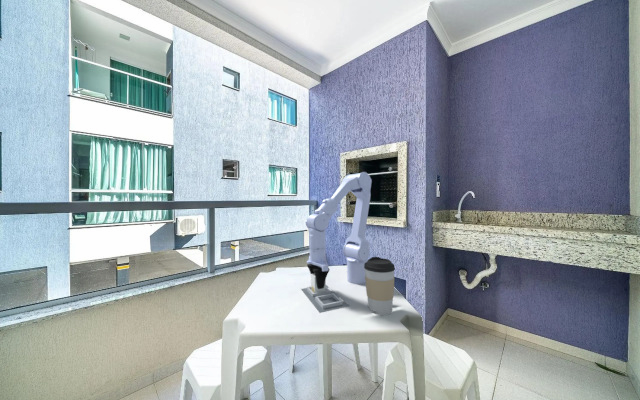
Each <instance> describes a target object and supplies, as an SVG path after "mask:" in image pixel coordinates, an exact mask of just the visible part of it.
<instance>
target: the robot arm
mask: <svg viewBox="0 0 640 400" xmlns="http://www.w3.org/2000/svg"><path fill="white" fill-rule="evenodd" d="M372 180H373V179H372V178H371V176H370V175H369V173H367V171H362V172H360V173H359V172H358V173H352V174H347V175H345V177H344V178H343V179H342V182H341V183H340V185H339V186H338V188H337V189H336V190H335V191H334V193H333V195H332V196H331V197H330V198H325V199H323V200H322V202H321V205H320V206H319V207H318V208H317V209H315V210H314V213H312V214H310V215H309V216H308V217H307V219H306V221H305V227H306V228H307V229H308V239H309V240H308V243H309V247H308V249H309V256H308V260H306V264H307V265H306V266H307V268H308V270H309V273H310V275H311V274H313V273H314V274H315V277H316V284H317V288H318V289H322V288H324V284H325V280H326V279H327V276H328V275H329V272H330V268H329V264H328V262H327V258H326V255H327V254H326V252H327V250H326V229H327V228H328V227H329V224H330V220H331V218H332V217H333V216H334V215H335V213H336V212H337V211H338V209H339V203H341V201H342V200H343V199H344V198H345V197H346V196H347V195H348V194H349V193H350V192H351V193H352V194H353V195H354V196H355V198H356V199H355V200H356V202H355V208H354V214H353V219H352V220H353V221H352V226H351V234H350V235H349V236H348V237H347V238H346V239H345V244H344V245H343V247H342V254H343V256H345V260H346V266H347V267H346V269H347V271H346V273H347V274H346V275H347V276H346V277H347V282H348V283H350V284H351V285H352V284H353V285H354V284H355V285H362V284H366V281H365V268H364V264H365V263H366V262H367V261H368V260H369V256H370V248H369V246H370V243H369V241H368V239H366V238H365V237H366V229H367V223H368V215H369V209H370V202H371V195H372V194H371V188H372V182H373V181H372Z"/></svg>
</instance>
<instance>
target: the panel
mask: <svg viewBox="0 0 640 400" xmlns="http://www.w3.org/2000/svg"><path fill="white" fill-rule="evenodd" d="M300 290H301V291H302V293H303V294H304V295H305V296H306V297H307V299H308V300H309V302H311V304H312V305H313V306H314V307H315V308H316V310H317V311H318V313H319V314H321V313H325V312H326V313H327V312H329V311H333V310H334V311H335V310H339V309H344V308H347V307H351V305H350V304H349V303H348V302H346V301H345V300H344V299H343V298H342V297H340V296H339V295H338V293H336V292H335V291H334V290H333V289H331V288H330V287H329V286H328V285H327V284H326V291H322V292H317V293H313V292H312V291H311V285H310V286H307V287H304V288H300Z"/></svg>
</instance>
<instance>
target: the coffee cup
mask: <svg viewBox="0 0 640 400" xmlns="http://www.w3.org/2000/svg"><path fill="white" fill-rule="evenodd" d="M364 268H365V281H366V283H365V289H366V290H365V291H366V296H367V307H368V308H369V310H371V311H373V312H372V314H375V315H378V316H387V315H390V314H391V313H392V312H393V300H394V295H395V294H394V293H395V292H394V291H395V290H394V289H395V270H396V267H395V264H394V263H393V262H392V261H391V260H390V259H387V258H381V257H379V256H372V257H371V258H368V261H367V262H366V263H365V264H364Z"/></svg>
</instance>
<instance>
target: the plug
mask: <svg viewBox="0 0 640 400" xmlns="http://www.w3.org/2000/svg"><path fill="white" fill-rule="evenodd" d="M326 283H327V282H326V280H325V284H324V288H322V289H318V288H317V284H316V277H315V274H314V273H313V274H311V273H310V286H311V291H312V292H313V293H317V292H322V291H326V285H327V284H326Z"/></svg>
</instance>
